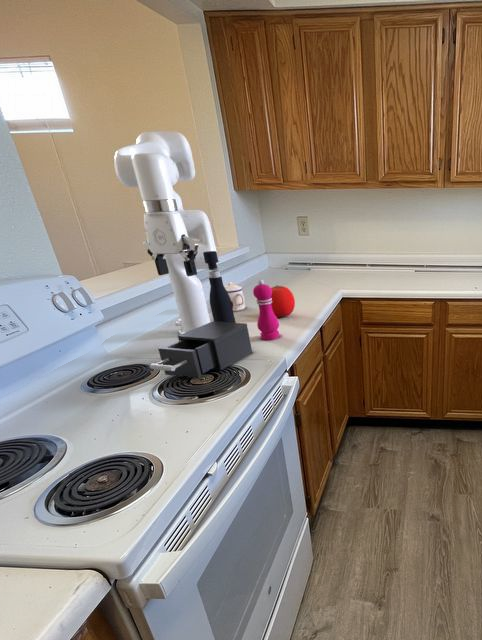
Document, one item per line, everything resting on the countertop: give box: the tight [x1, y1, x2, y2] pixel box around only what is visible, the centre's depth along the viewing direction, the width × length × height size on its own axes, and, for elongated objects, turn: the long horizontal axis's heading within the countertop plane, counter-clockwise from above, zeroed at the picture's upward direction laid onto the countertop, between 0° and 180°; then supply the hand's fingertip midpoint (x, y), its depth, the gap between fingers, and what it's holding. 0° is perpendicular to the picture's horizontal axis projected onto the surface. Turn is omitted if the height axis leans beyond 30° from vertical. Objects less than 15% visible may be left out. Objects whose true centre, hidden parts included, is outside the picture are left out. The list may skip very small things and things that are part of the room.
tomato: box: [270, 284, 296, 318], centre depth 167 cm, size 12×12×13 cm
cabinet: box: [177, 320, 253, 372], centre depth 125 cm, size 15×13×10 cm
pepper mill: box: [252, 279, 280, 341], centre depth 141 cm, size 7×7×20 cm
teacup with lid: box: [224, 281, 246, 312], centre depth 179 cm, size 12×9×12 cm
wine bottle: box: [203, 251, 236, 323], centre depth 134 cm, size 6×6×30 cm
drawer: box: [149, 339, 218, 380], centre depth 115 cm, size 19×11×8 cm, turn 163°
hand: (177, 274), depth 114 cm, fingers open, 9 cm apart
